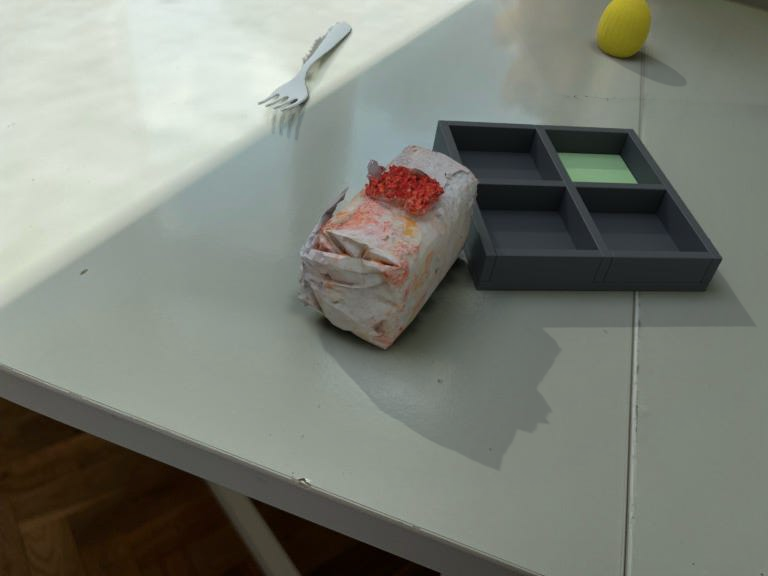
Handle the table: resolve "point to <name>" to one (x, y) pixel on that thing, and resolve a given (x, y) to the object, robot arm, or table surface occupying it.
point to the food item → (388, 244)
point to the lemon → (624, 27)
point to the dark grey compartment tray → (574, 211)
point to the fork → (297, 85)
